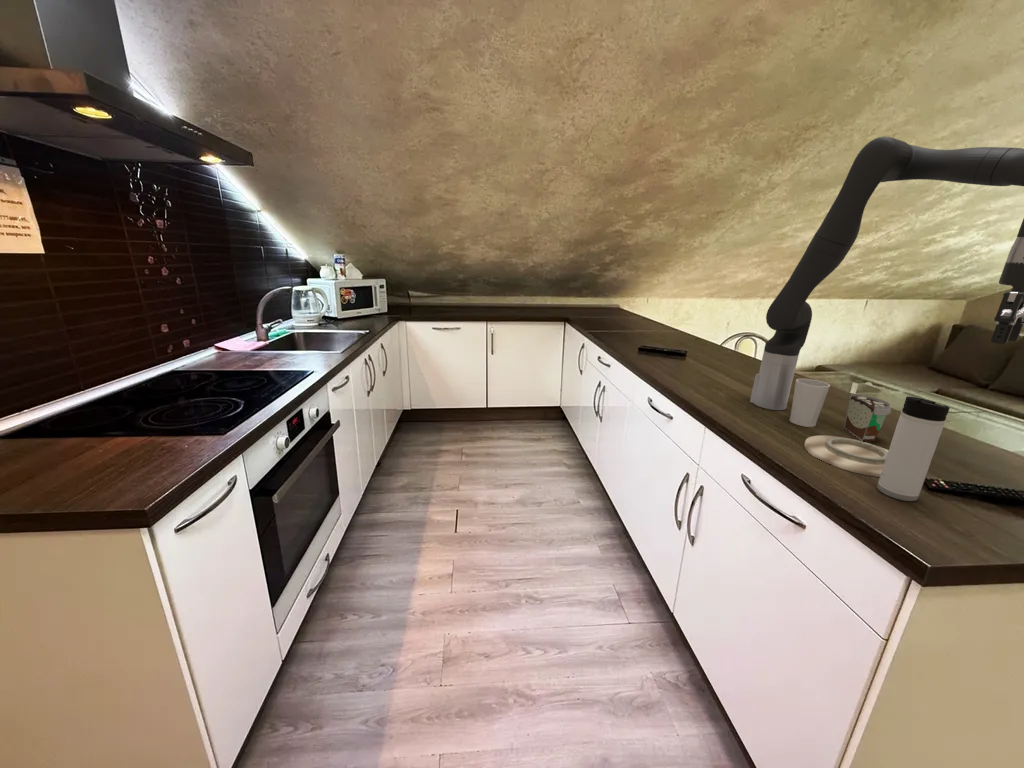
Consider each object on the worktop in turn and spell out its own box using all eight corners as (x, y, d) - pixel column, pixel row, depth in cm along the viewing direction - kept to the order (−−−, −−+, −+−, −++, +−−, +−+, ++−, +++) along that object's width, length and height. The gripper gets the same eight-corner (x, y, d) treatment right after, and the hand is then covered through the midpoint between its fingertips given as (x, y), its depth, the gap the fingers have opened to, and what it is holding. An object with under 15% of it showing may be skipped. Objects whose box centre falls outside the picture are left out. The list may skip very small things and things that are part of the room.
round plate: (787, 448, 106) (790, 439, 105) (828, 434, 116) (830, 426, 115) (887, 486, 89) (891, 475, 89) (924, 466, 99) (928, 456, 99)
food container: (892, 446, 110) (904, 409, 107) (865, 443, 111) (876, 407, 108) (865, 428, 121) (875, 394, 118) (840, 426, 122) (850, 392, 119)
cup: (821, 423, 124) (832, 383, 120) (816, 430, 118) (827, 388, 115) (789, 415, 129) (799, 377, 126) (783, 422, 123) (793, 381, 120)
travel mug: (867, 485, 89) (896, 393, 84) (896, 485, 90) (927, 393, 84) (895, 502, 83) (928, 404, 78) (926, 501, 84) (961, 404, 78)
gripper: (1015, 262, 93) (987, 336, 97) (997, 259, 85) (968, 340, 90) (1070, 263, 87) (1038, 343, 91) (1055, 261, 79) (1021, 348, 84)
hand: (1003, 341), depth 91 cm, fingers open, 8 cm apart
